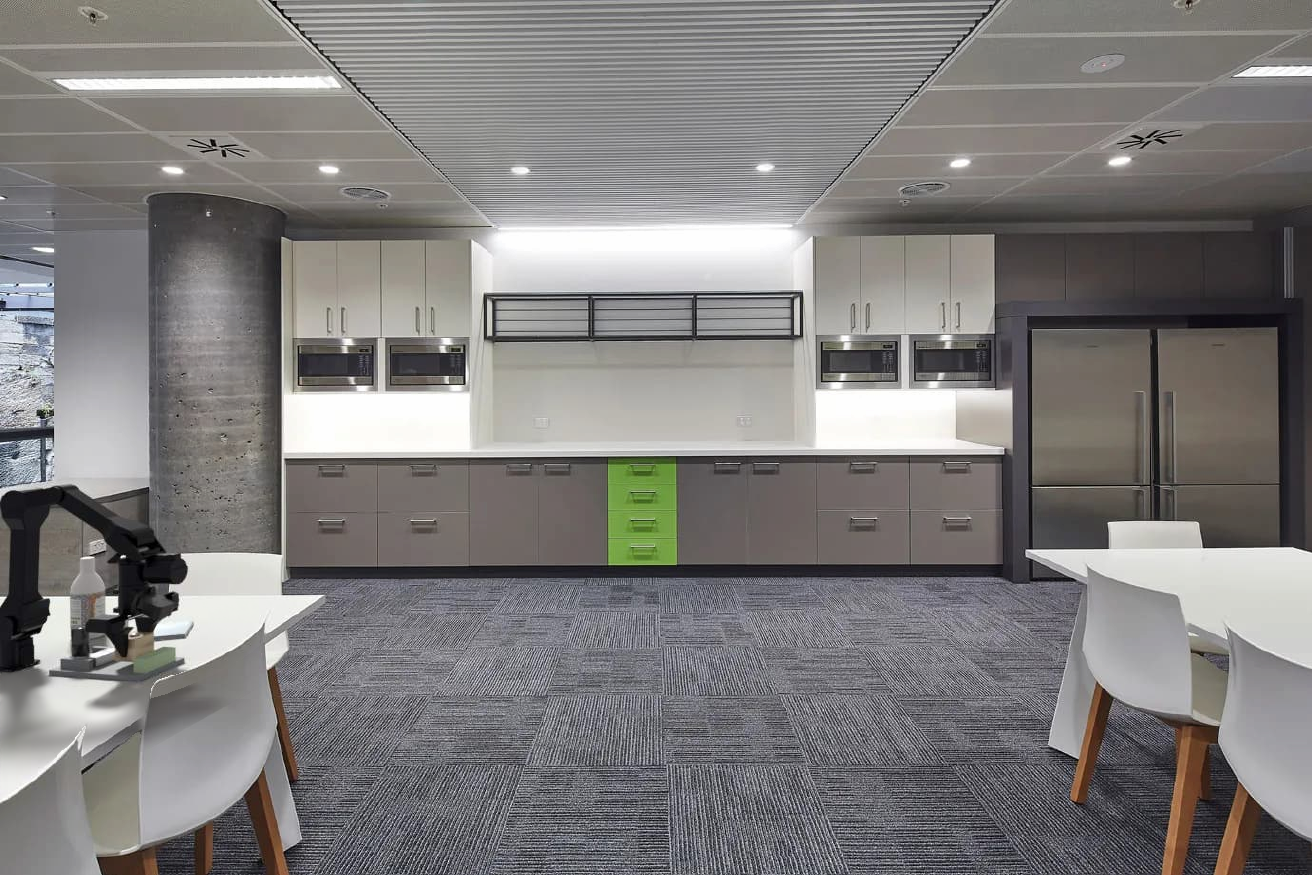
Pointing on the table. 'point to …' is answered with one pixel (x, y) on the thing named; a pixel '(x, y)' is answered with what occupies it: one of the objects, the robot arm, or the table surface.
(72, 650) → the ram
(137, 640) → the housing
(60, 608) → the table surface
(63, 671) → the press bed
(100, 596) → the bath foam
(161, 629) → the hard drive
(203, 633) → the table surface
